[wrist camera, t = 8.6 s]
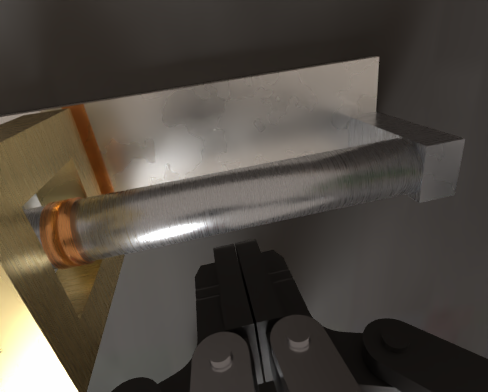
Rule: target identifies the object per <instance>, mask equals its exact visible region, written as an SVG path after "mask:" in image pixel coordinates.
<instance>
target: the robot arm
mask: <svg viewBox="0 0 488 392" xmlns="http://www.w3.org/2000/svg"><path fill="white" fill-rule="evenodd" d="M235 246H236V251H235V248H234V244H230V245H225V246H221V247H216V248H213V250H214V257H215V263H211V264H207V265H202V266H200V268H199V270H198V272H197V274H196V276H195V288H196V311H197V334H198V344H197V347H196V349H195V351H194V354H193V357H192V359H191V360H190V361H189V363H188V364H187V365H186V366H185V367H184V368H183V369H181V370H180V371H179V372H177V373H176V374H174V375H172V376H171V377H169V378H167V379H166V380H164V381H162V382H160V383H159V384H157V383H156V382H155V381H153V380H151V379H149V378H144V377H140V378H134V379H131V380H128V381H126V382H124V383H122V384H120V385H119V386H117V387H116V388H115V389H114V390H113V391H112V392H259V388H258V384H262V383H263V377H262V371H261V365H260V360H261V364H262V369H263V373H264V377H265V381H266V382H269V381H272V380H274V384H275V387H276V391H277V392H488V359H486V358H484V357H482V356H480V355H477V354H475V353H473V352H471V351H468V350H466V349H464V348H461V347H459V346H457V345H455V344H452V343H450V342H448V341H446V340H443V339H441V338H439V337H437V336H434V335H432V334H430V333H427V332H425V331H423V330H421V329H418V328H416V327H414V326H412V325H409V324H407V323H405V322H402V321H399V320H395V319H378V320H375V321H373V322H371V323H369V324H368V325H367V326H366V328H365V330H364V332H363V333H350V332H338V331H333V330H330V329H327V328H325V327H323V326H322V325H321V324H320V323H319V322H318V321H316V320H315V319H313V317H312V316H311V314H310V313H309V311H308V309H307V306H306V304H305V302H304V300H303V298H302V296H301V294H300V292H299V290H298V288H297V286H296V283H295V281H294V279H293V278H292V275H291V273H290V271H289V270H288V267H287V265H286V263H285V260H284V258H283V257H282V256H280V255H279V254H278V253H276V252H275V251H274V250H271V251H267V252H262V253H261V252H260V250H259V247H258V244H257V242H256V240H255V239H254V240H249V241H244V242H239V243H235ZM236 252H237V255H236ZM237 258H238V259H237ZM259 356H260V358H259Z"/></svg>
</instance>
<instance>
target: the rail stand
mask: <svg viewBox="0 0 488 392" xmlns="http://www.w3.org/2000/svg"><path fill="white" fill-rule="evenodd" d="M378 69H379V57H378V56H370V57H363V58H357V59H351V60H345V61H338V62H332V63H326V64H319V65H313V66H307V67H301V68H294V69H288V70H282V71H276V72H269V73H263V74H257V75H250V76H244V77H238V78H232V79H225V80H219V81H213V82H206V83H200V84H194V85H188V86H181V87H175V88H169V89H163V90H156V91H150V92H144V93H137V94H131V95H125V96H119V97H112V98H106V99H100V100H94V101H87V102H81V103H75V104H68V105H62V106H56V107H50V108H43V109H37V110H31V111H24V112H18V113H12V114H6V115H0V124H3V123H5V122H8V121H10V120H13V119H15V118H18V117H20V116H23V115H29V114H35V113H41V112H47V111H54V110H60V109H66V108H70V111H71V113H72V116H73V119H74V121H75V124H76V127H77V129H78V132H79V135H80V137H81V140H82V143H83V145H84V148H85V151H86V153H87V156H88V159H89V161H90V164H91V167H92V169H93V172H94V175H95V177H96V180H97V183H98V185H99V188H100V191H101V193H102V195H97V196H92V197H87V198H81V197H76V198H70V199H65V200H60V201H55V202H50V203H48V204H47V205H45V206H41V204H40V202H39V200H38V197H37V195H36V194H35V195H34V196H33V197H31V198H30V199H29V200H28V201H27V202H26V203H25V204H24V205H23V206H22V208H23V210H24V212H25V214H26V216H27V218H28V220H29V222H30V224H31V226H32V228H33V230H34V232H35V234H36V236H37V238H38V240H39V241H40V243H41V245H42V247H43V249H44V251H45V253H46V255H47V257H48V259H49V261H50V263H51V265H52V267H53V269H68V268H73V267H77V266H82V265H87V264H91V263H93V262H94V261H95V260H100V259H104V258H109V257H114V256H118V255H123V254H128V253H132V252H137V251H142V250H147V249H151V248H156V247H161V246H165V245H170V244H175V243H179V242H184V241H189V240H193V239H198V238H203V237H207V236H212V235H217V234H221V233H226V232H231V231H235V230H240V229H245V228H249V227H254V226H259V225H264V224H268V223H273V222H278V221H282V220H287V219H292V218H296V217H301V216H306V215H310V214H315V213H320V212H324V211H329V210H334V209H338V208H343V207H348V206H352V205H357V204H362V203H367V202H371V201H376V200H381V199H385V198H390V197H395V196H399V195H404V194H406V195H408V196H409V197H411V198H412V199H414V200H416V201H417V202H419V203H420V202H425V201H429V200H434V199H439V198H443V197H448V196H452V195H455V190H456V185H457V179H458V174H459V169H460V164H461V158H462V153H463V148H464V143H465V139H464V138H461V137H458V136H455V135H451V134H448V133H445V132H441V131H438V130H435V129H432V128H428V127H425V126H422V125H418V124H415V123H412V122H409V121H405V120H402V119H399V118H395V117H392V116H389V115H386V114H382V113H379V112H376V104H377V87H378Z"/></svg>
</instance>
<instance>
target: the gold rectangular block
mask: <svg viewBox="0 0 488 392" xmlns="http://www.w3.org/2000/svg"><path fill="white" fill-rule="evenodd" d="M35 194H36V195H37V197H38V200H39V202H40V204H41V206H45V205H47V204H48V203H50V202H55V201H60V200H65V199H70V198H76V197H81V198H87V197H92V196H97V195H102V193H101V191H100V188H99V185H98V183H97V180H96V177H95V175H94V172H93V169H92V167H91V164H90V161H89V159H88V156H87V153H86V151H85V148H84V145H83V143H82V140H81V137H80V135H79V132H78V129H77V127H76V124H75V121H74V119H73V116H72V113H71V111H70V108H66V109H60V110H54V111H47V112H41V113H35V114H29V115H23V116H20V117H18V118H15V119H13V120H10V121H8V122H5V123H3V124H0V392H87V389H88V385H89V381H90V378H91V374H92V371H93V367H94V363H95V360H96V356H97V353H98V349H99V345H100V342H101V338H102V335H103V331H104V327H105V324H106V320H107V317H108V313H109V309H110V306H111V302H112V299H113V295H114V291H115V288H116V284H117V281H118V277H119V274H120V270H121V266H122V263H123V259H124V256H125V255H124V254H123V255H118V256H114V257H109V258H104V259H100V260H95V261H94V262H93V263H91V264H87V265H82V266H77V267H73V268H68V269H58V270H57V272H56V273H55V271H54V269H53V267H52V265H51V263H50V261H49V259H48V257H47V255H46V253H45V251H44V249H43V247H42V245H41V243H40V241H39V240H38V238H37V236H36V234H35V232H34V230H33V228H32V226H31V224H30V222H29V220H28V218H27V216H26V214H25V212H24V210H23V208H22V206H23V205H24V204H25V203H26V202H27V201H28V200H29V199H30V198H31V197H33V196H34V195H35Z"/></svg>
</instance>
